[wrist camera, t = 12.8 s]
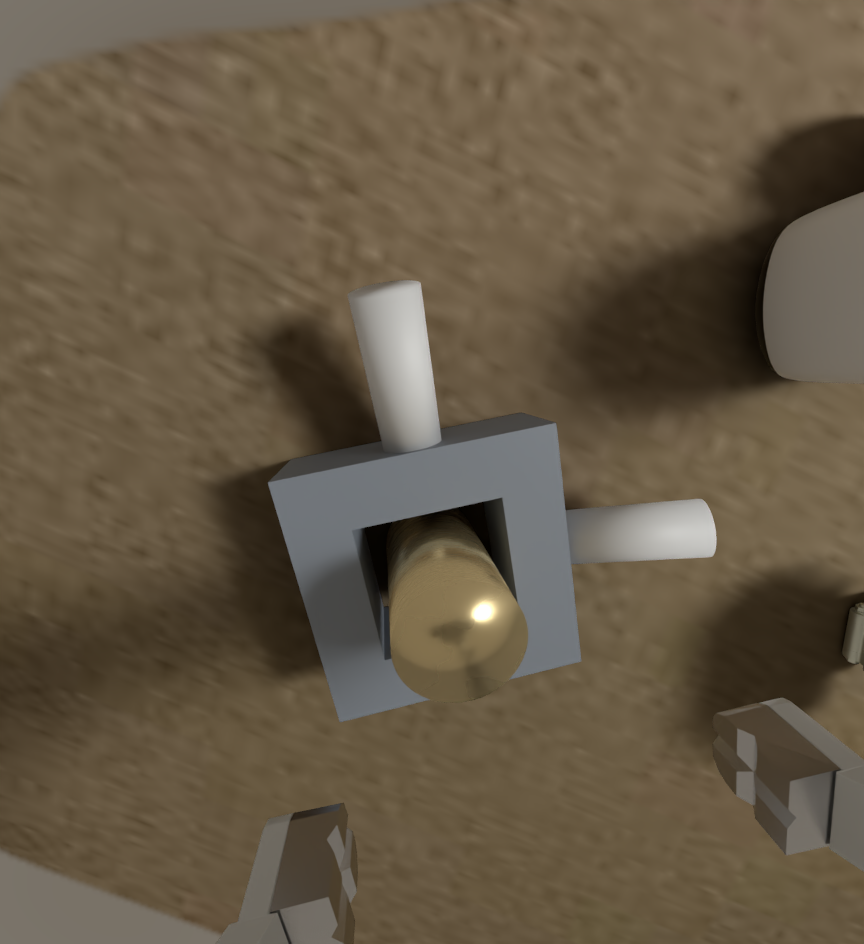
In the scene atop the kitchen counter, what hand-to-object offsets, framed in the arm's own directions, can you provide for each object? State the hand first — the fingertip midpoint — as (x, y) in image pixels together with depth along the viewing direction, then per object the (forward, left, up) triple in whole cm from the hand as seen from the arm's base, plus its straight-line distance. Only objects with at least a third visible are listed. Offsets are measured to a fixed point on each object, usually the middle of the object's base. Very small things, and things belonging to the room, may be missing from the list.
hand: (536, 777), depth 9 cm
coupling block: (+3, -2, -12) cm, 13 cm away
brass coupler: (0, +1, -12) cm, 12 cm away
